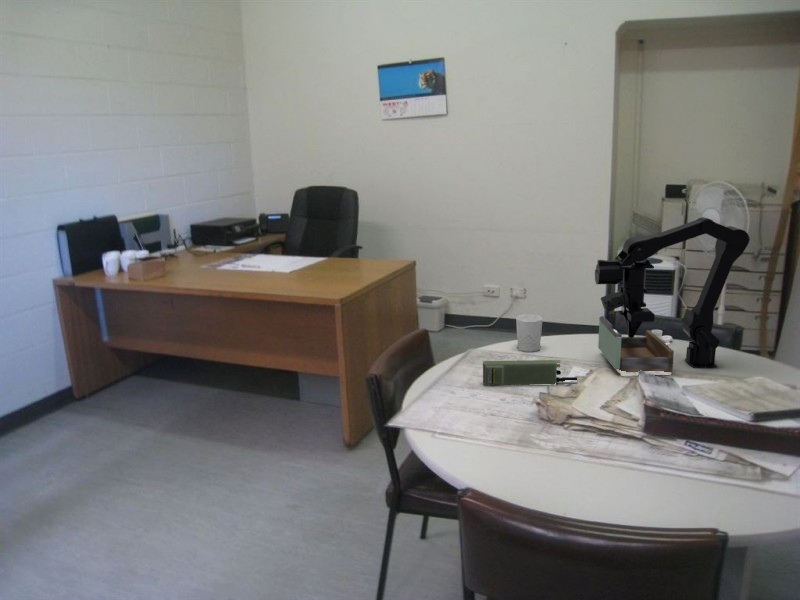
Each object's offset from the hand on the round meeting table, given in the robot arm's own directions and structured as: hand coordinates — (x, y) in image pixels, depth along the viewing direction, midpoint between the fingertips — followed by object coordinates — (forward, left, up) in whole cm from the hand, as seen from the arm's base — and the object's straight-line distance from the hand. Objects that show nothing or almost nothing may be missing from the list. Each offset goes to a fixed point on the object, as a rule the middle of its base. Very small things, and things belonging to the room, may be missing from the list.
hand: (630, 337), depth 177 cm
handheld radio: (+30, +13, -8) cm, 34 cm away
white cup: (+26, -15, -8) cm, 31 cm away
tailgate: (+6, 0, -6) cm, 8 cm away
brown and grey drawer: (-2, 0, -8) cm, 8 cm away
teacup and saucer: (-16, -17, -9) cm, 25 cm away
